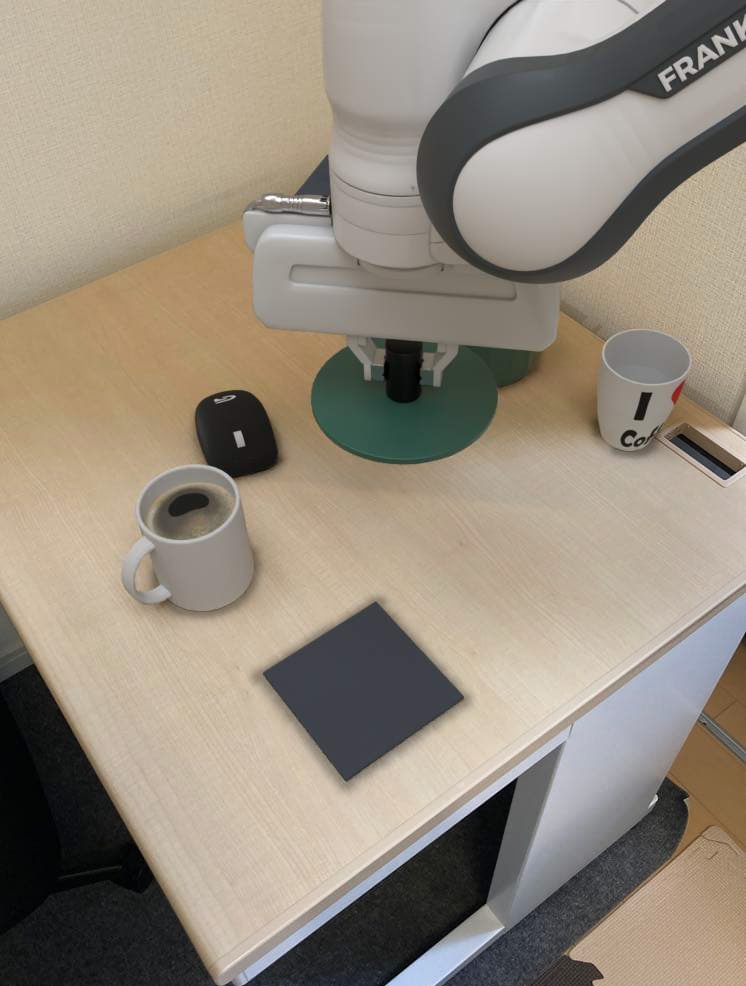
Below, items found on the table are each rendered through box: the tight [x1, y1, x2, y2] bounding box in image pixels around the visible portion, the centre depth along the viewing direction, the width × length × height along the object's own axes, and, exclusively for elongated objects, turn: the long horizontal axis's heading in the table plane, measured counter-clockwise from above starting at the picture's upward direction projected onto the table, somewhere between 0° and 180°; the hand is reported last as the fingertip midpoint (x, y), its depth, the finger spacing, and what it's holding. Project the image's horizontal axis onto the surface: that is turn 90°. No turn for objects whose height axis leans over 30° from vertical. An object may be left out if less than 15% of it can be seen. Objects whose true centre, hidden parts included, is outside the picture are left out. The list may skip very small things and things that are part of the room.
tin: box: [462, 345, 539, 388], centre depth 98 cm, size 13×13×8 cm
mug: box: [121, 463, 255, 612], centre depth 80 cm, size 11×10×10 cm
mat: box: [262, 601, 465, 782], centre depth 76 cm, size 12×12×1 cm
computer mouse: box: [194, 389, 279, 479], centre depth 93 cm, size 8×12×4 cm, turn 18°
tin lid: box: [310, 337, 499, 466], centre depth 65 cm, size 14×14×6 cm
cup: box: [596, 328, 693, 452], centre depth 89 cm, size 8×8×10 cm
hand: (404, 378), depth 65 cm, fingers closed on tin lid, 2 cm apart
